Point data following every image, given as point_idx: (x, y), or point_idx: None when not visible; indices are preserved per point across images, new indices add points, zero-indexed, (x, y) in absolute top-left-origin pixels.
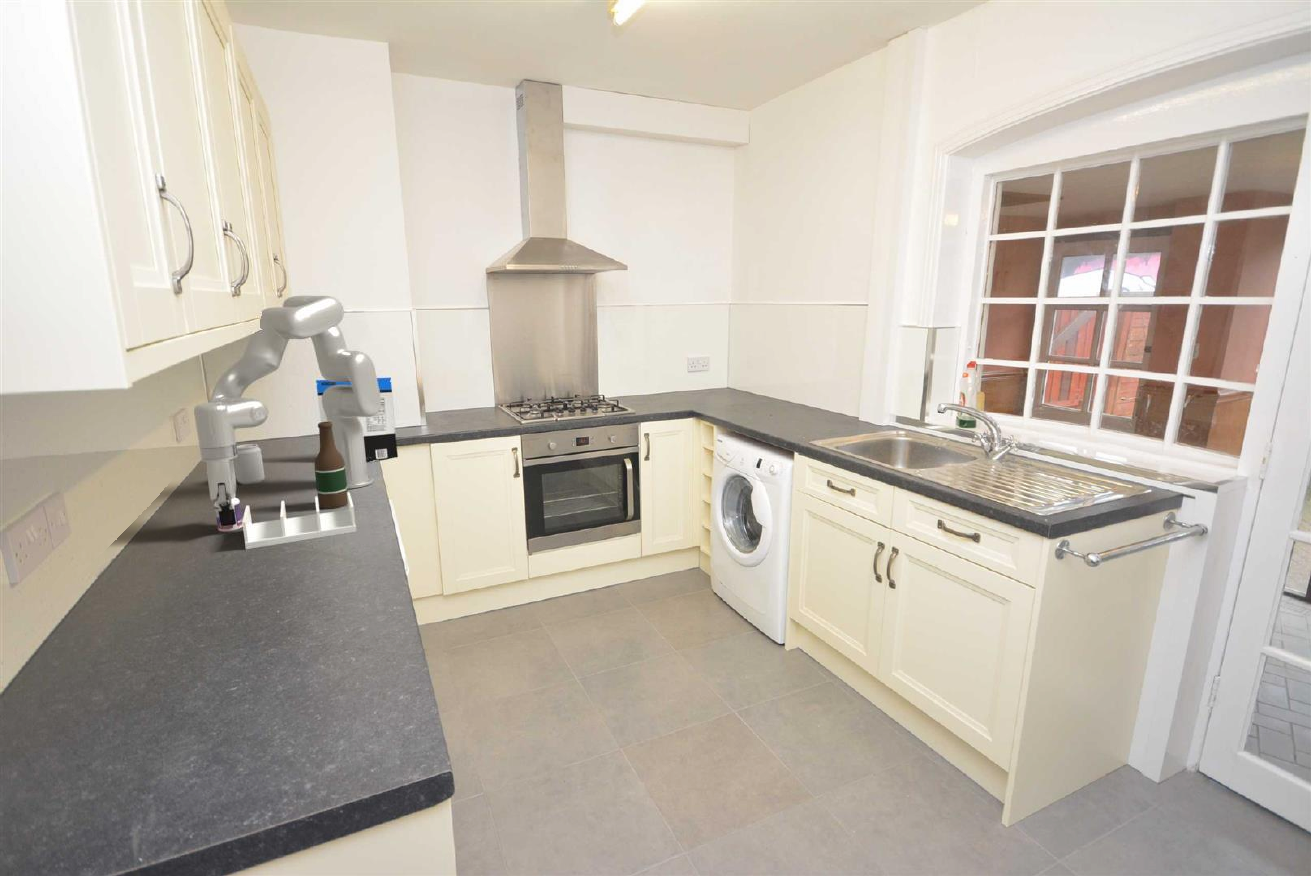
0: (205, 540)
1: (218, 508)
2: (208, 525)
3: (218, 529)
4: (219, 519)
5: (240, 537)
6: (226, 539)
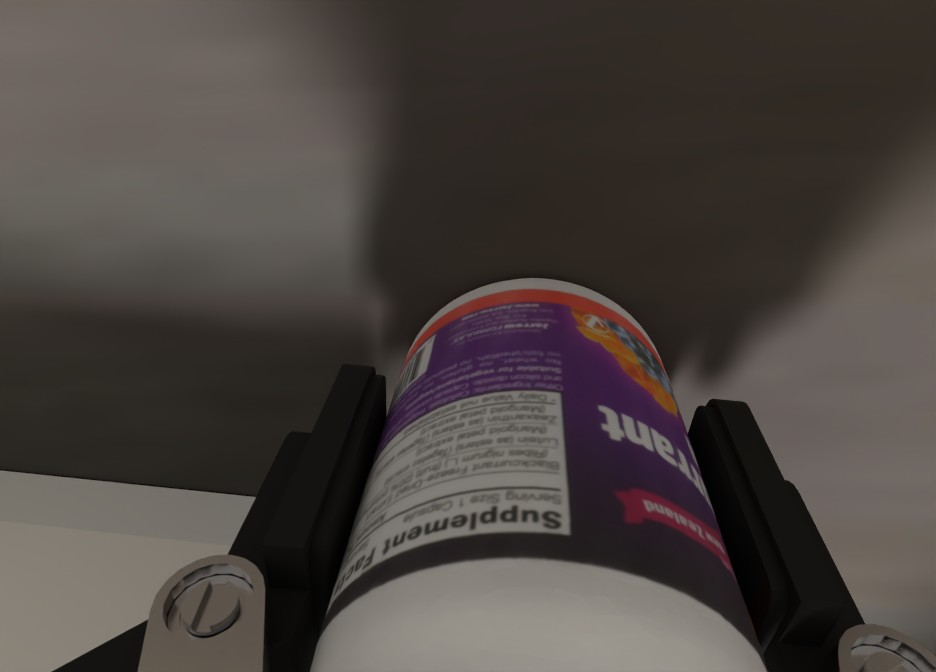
0: (168, 134)
1: (355, 581)
2: (908, 155)
3: (498, 285)
4: (415, 406)
5: (155, 436)
6: (131, 335)
